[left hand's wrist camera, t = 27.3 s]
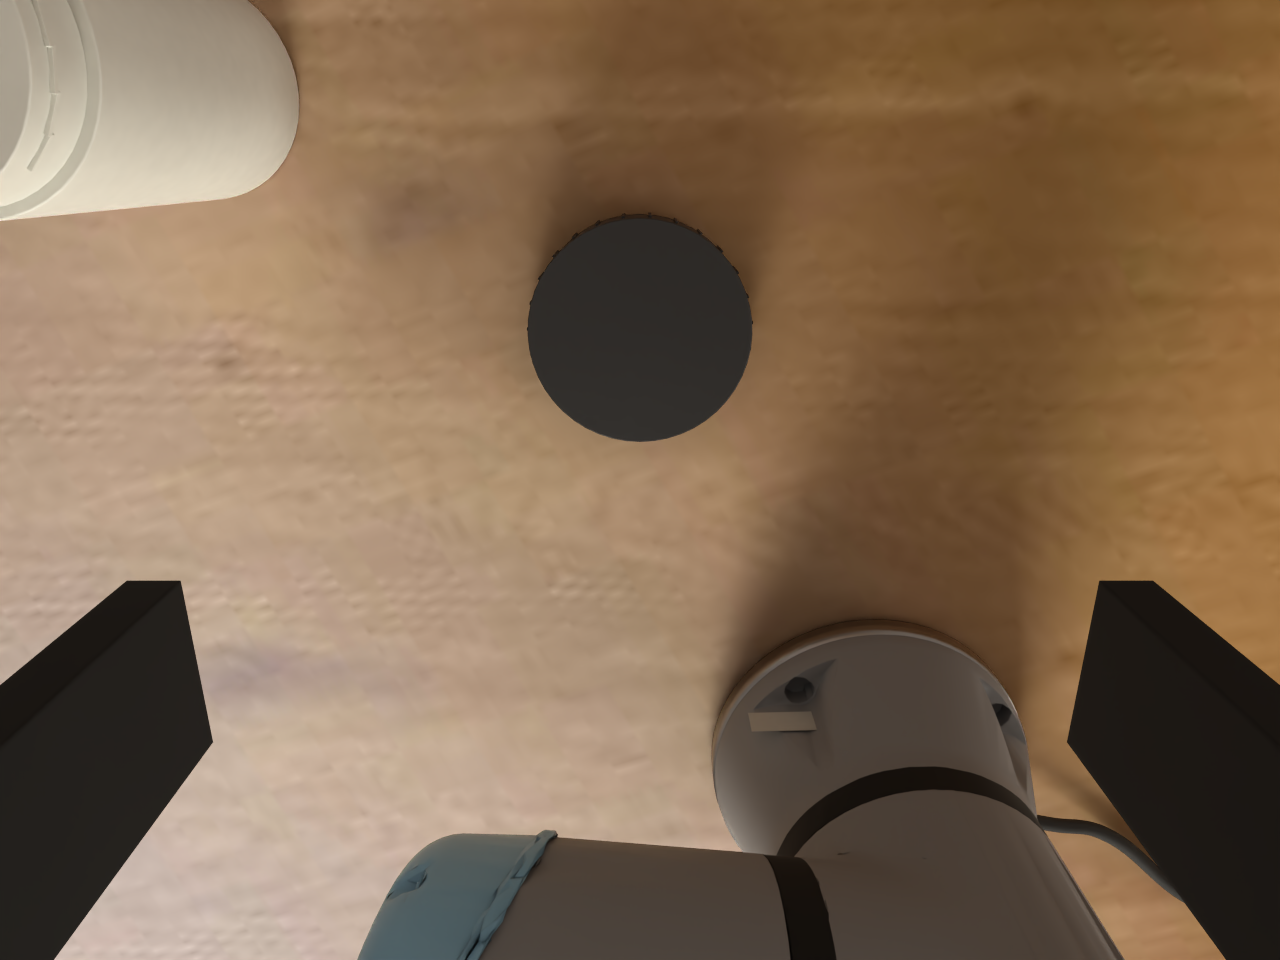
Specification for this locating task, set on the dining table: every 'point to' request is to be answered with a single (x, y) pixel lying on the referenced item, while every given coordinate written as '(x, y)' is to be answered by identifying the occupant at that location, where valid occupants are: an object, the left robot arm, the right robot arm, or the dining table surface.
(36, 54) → the jar
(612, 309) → the lid
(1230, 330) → the dining table surface
